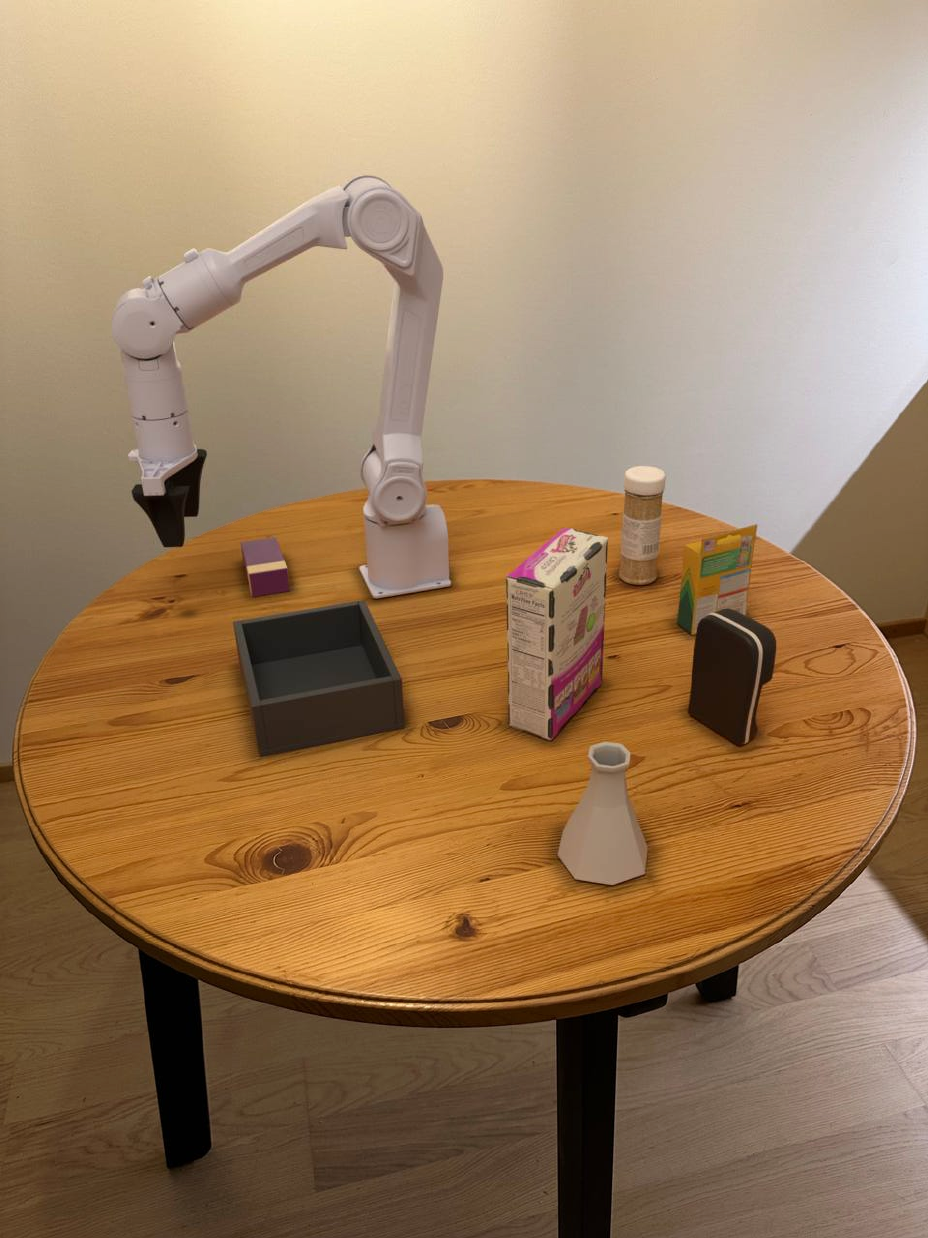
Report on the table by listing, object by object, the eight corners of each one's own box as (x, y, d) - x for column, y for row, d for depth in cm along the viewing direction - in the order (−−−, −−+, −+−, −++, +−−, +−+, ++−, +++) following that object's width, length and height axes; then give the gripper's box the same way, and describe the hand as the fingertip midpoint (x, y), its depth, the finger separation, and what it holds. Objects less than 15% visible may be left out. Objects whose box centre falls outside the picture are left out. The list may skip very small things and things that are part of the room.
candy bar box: (558, 670, 102) (563, 524, 93) (603, 684, 99) (612, 536, 91) (503, 727, 93) (503, 573, 85) (550, 744, 91) (555, 587, 83)
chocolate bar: (279, 558, 125) (276, 536, 123) (290, 591, 117) (287, 568, 116) (243, 564, 123) (239, 542, 122) (252, 597, 116) (248, 574, 114)
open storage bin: (368, 644, 107) (364, 599, 104) (404, 728, 94) (401, 678, 91) (240, 667, 103) (232, 621, 100) (259, 757, 90) (251, 707, 87)
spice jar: (648, 566, 121) (656, 462, 114) (662, 584, 117) (672, 477, 110) (612, 571, 120) (619, 466, 113) (625, 589, 116) (633, 481, 109)
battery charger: (769, 734, 92) (787, 628, 86) (740, 750, 90) (757, 643, 84) (711, 699, 97) (725, 597, 91) (684, 713, 95) (696, 609, 89)
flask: (550, 826, 82) (553, 728, 77) (636, 819, 82) (645, 722, 77) (565, 891, 76) (569, 789, 70) (659, 884, 76) (670, 782, 71)
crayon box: (728, 608, 112) (741, 513, 106) (746, 620, 109) (759, 524, 104) (674, 623, 109) (684, 527, 103) (691, 636, 107) (702, 538, 101)
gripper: (138, 390, 109) (160, 504, 116) (100, 437, 97) (127, 561, 104) (203, 388, 109) (221, 502, 116) (173, 434, 97) (195, 559, 104)
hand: (181, 530), depth 110 cm, fingers open, 7 cm apart
